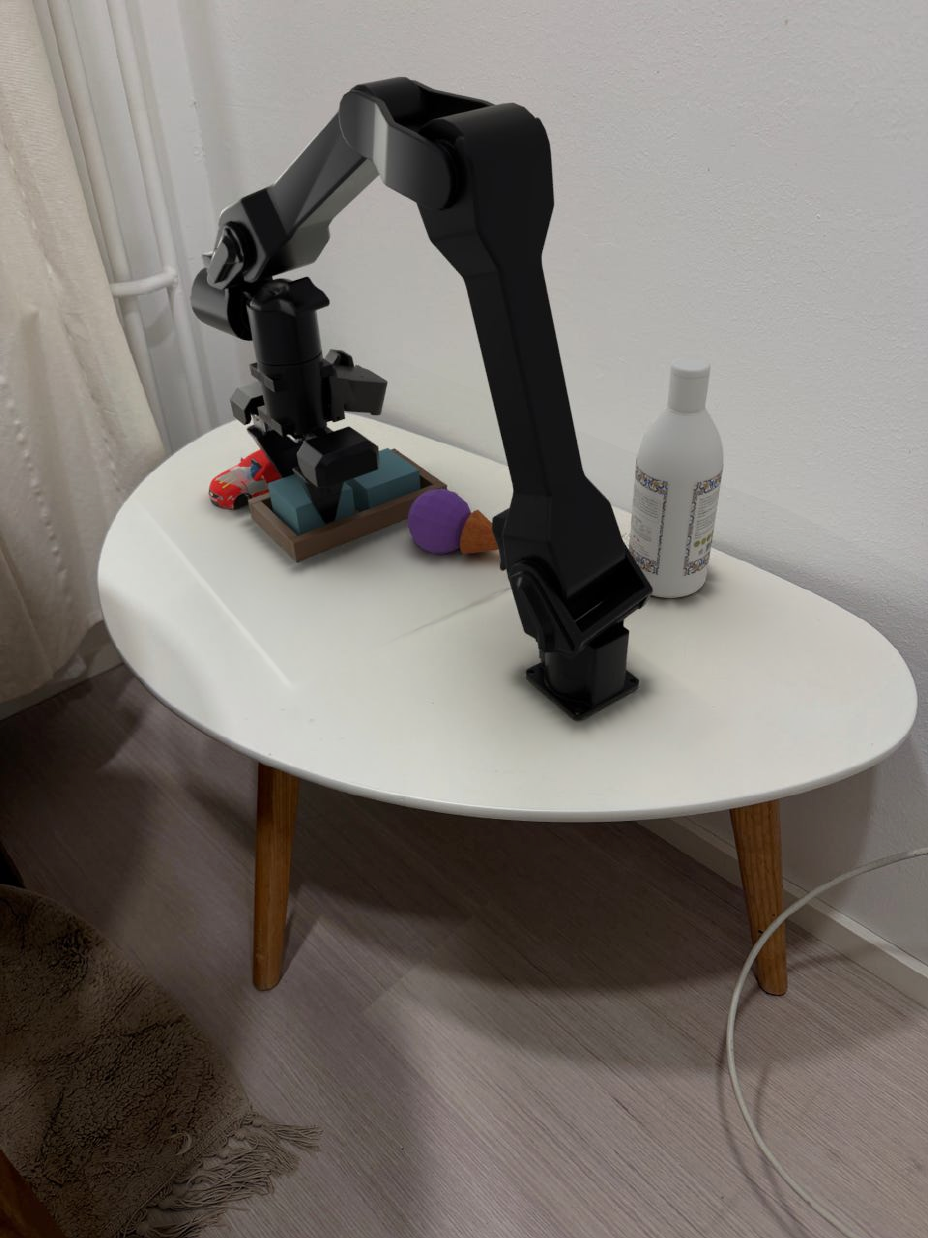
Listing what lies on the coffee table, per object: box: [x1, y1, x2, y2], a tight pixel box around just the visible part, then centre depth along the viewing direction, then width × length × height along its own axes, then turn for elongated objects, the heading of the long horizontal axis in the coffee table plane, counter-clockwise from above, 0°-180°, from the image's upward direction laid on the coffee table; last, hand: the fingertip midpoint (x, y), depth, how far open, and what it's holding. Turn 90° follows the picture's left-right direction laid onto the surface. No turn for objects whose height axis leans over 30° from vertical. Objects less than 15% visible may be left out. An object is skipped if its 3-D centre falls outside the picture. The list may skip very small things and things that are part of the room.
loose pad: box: [268, 474, 355, 536], centre depth 89 cm, size 6×6×4 cm
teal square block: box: [345, 447, 420, 512], centre depth 93 cm, size 6×6×4 cm
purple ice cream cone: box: [406, 489, 499, 555], centre depth 83 cm, size 6×6×20 cm
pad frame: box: [248, 448, 448, 563], centre depth 92 cm, size 10×17×3 cm, turn 125°
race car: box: [208, 448, 282, 510], centre depth 96 cm, size 13×5×4 cm, turn 125°
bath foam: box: [628, 355, 725, 599], centre depth 76 cm, size 7×7×20 cm
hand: (314, 507), depth 89 cm, fingers closed on loose pad, 6 cm apart
